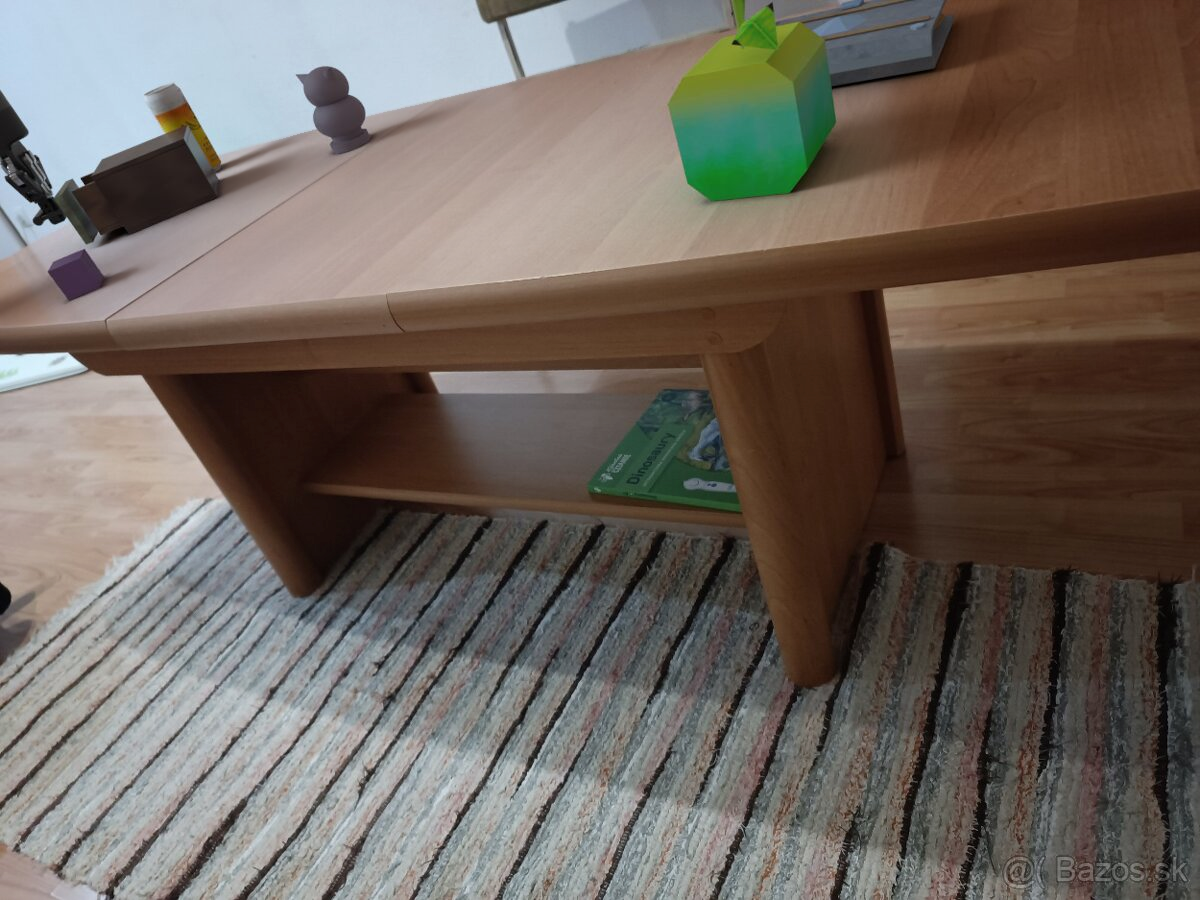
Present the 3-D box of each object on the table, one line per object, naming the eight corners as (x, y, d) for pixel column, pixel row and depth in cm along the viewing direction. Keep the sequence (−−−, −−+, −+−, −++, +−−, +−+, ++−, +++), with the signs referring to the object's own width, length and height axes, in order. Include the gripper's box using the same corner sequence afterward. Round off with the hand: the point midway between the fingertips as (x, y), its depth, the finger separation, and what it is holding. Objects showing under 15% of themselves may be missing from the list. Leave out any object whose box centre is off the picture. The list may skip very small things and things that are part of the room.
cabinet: (129, 234, 135) (90, 176, 130) (136, 214, 146) (101, 159, 140) (217, 197, 137) (183, 138, 132) (219, 180, 148) (187, 124, 142)
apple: (692, 203, 78) (648, 28, 69) (727, 157, 84) (691, -9, 76) (810, 190, 72) (779, -1, 64) (839, 142, 79) (814, -38, 70)
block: (68, 301, 115) (47, 271, 113) (73, 290, 119) (52, 261, 116) (100, 287, 116) (79, 258, 113) (104, 277, 119) (84, 248, 117)
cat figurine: (386, 131, 138) (352, 53, 131) (356, 152, 133) (319, 72, 126) (349, 137, 143) (314, 63, 136) (318, 158, 138) (280, 81, 131)
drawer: (53, 258, 134) (19, 211, 130) (65, 238, 143) (34, 194, 139) (169, 210, 136) (139, 162, 132) (173, 193, 146) (145, 148, 141)
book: (730, 110, 95) (720, 63, 92) (770, 58, 106) (763, 15, 103) (933, 75, 85) (929, 22, 82) (954, 22, 96) (952, -27, 93)
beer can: (226, 168, 153) (177, 82, 145) (193, 182, 152) (142, 97, 143) (221, 163, 158) (174, 80, 150) (189, 177, 157) (140, 94, 148)
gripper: (-30, 115, 132) (45, 220, 142) (-54, 131, 121) (29, 243, 131) (18, 96, 133) (89, 202, 143) (-2, 110, 122) (77, 223, 132)
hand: (60, 221), depth 137 cm, fingers closed
